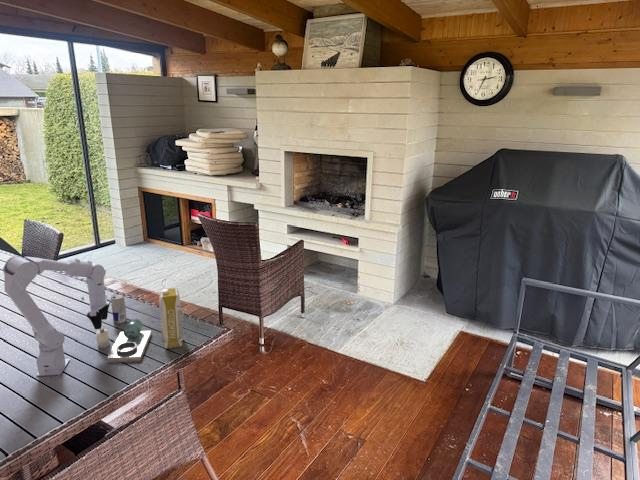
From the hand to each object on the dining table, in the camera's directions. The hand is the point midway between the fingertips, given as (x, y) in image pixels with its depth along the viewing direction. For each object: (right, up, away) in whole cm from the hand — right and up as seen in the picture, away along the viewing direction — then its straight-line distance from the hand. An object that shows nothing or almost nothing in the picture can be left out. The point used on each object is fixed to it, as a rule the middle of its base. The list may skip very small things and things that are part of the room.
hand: (101, 323), depth 175 cm
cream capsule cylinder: (0, -9, +3) cm, 10 cm away
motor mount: (+11, -10, +1) cm, 15 cm away
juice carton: (+27, -9, +6) cm, 29 cm away
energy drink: (-2, -3, +22) cm, 22 cm away
